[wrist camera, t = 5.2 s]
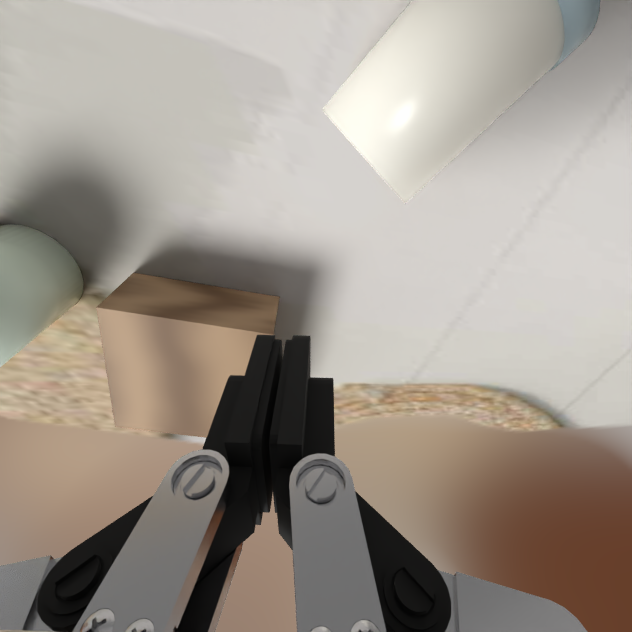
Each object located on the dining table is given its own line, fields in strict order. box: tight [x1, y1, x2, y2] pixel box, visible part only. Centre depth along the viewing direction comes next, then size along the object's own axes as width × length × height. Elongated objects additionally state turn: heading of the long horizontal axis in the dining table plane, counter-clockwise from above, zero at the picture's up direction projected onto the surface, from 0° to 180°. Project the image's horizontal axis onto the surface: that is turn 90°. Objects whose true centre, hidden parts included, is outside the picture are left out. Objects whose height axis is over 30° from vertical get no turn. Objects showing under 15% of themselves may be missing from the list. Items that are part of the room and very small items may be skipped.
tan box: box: [96, 273, 280, 438], centre depth 24 cm, size 10×10×5 cm
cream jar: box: [322, 0, 600, 204], centre depth 15 cm, size 6×6×9 cm
